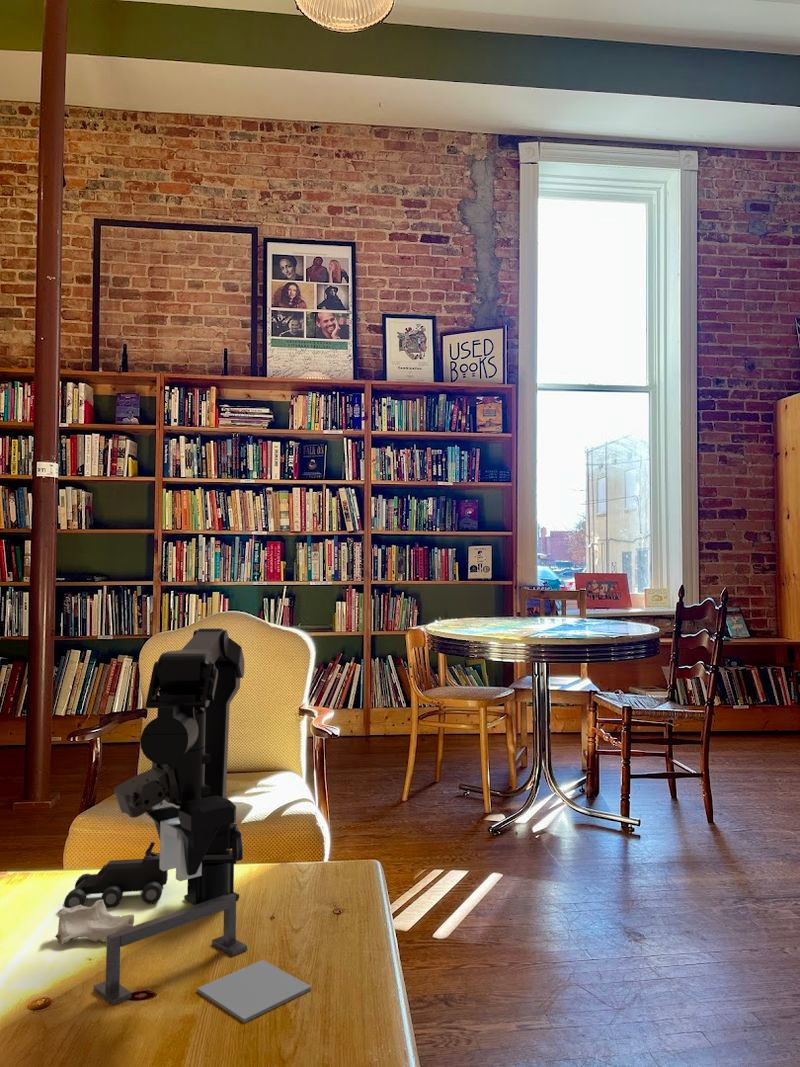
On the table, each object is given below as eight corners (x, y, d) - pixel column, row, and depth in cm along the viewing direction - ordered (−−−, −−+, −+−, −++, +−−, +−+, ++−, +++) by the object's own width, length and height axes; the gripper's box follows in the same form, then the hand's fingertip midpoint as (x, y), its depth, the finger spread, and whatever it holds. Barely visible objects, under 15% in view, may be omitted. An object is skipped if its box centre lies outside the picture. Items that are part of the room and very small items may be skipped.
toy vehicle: (162, 906, 121) (164, 849, 122) (61, 913, 119) (63, 854, 119) (169, 886, 129) (170, 832, 130) (74, 892, 127) (76, 837, 127)
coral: (133, 942, 109) (134, 910, 109) (52, 953, 105) (54, 919, 106) (134, 925, 114) (135, 894, 114) (58, 935, 111) (59, 903, 111)
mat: (262, 962, 102) (262, 959, 102) (311, 989, 95) (311, 986, 95) (196, 991, 95) (196, 988, 95) (244, 1022, 88) (244, 1019, 88)
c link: (180, 863, 104) (181, 816, 105) (201, 875, 100) (202, 826, 100) (159, 868, 102) (160, 821, 103) (180, 881, 98) (181, 831, 98)
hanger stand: (226, 938, 109) (227, 888, 110) (247, 950, 106) (247, 897, 106) (93, 990, 95) (95, 932, 96) (112, 1005, 92) (114, 945, 92)
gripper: (95, 745, 104) (92, 863, 103) (155, 769, 90) (152, 906, 89) (173, 734, 111) (170, 845, 110) (239, 755, 97) (237, 882, 96)
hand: (180, 868), depth 101 cm, fingers closed on c link, 6 cm apart
